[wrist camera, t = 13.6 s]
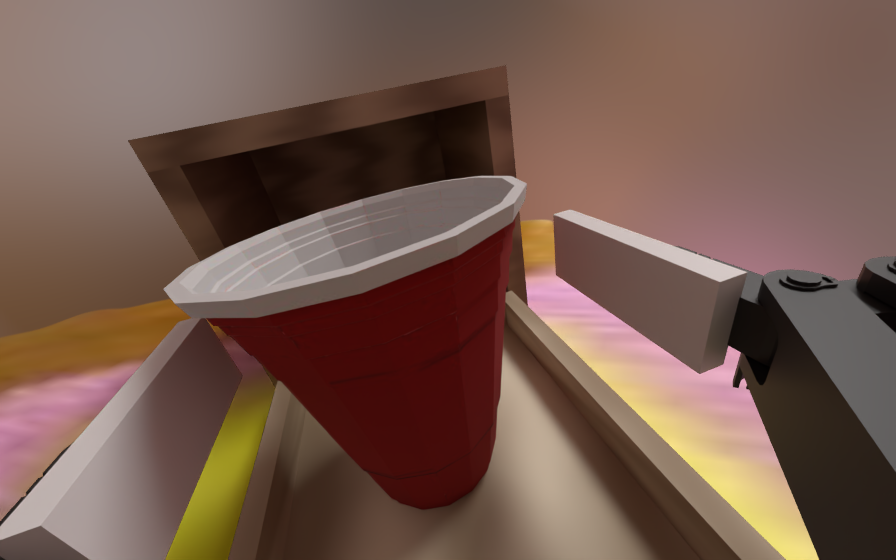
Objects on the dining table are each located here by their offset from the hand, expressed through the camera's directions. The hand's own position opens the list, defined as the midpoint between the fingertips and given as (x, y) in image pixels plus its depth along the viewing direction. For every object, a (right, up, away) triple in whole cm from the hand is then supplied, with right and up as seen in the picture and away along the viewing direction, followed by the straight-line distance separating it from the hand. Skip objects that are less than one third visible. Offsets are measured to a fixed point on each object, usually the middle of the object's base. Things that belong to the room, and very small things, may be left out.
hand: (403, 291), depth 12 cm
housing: (-3, -2, +19) cm, 19 cm away
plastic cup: (+1, -8, +4) cm, 9 cm away
